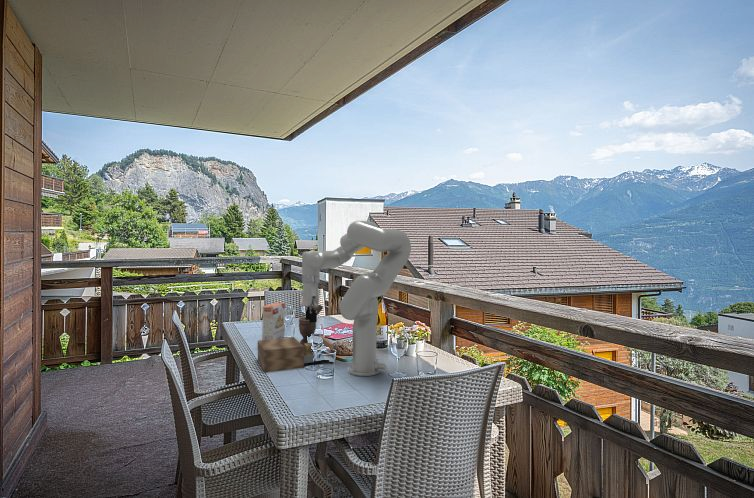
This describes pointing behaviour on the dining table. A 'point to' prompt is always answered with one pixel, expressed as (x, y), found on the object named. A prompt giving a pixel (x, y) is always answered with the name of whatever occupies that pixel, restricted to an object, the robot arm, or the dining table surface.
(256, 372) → the dining table surface
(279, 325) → the cracker box
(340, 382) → the dining table surface
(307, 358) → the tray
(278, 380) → the dining table surface
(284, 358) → the brown box
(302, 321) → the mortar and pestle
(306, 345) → the block
